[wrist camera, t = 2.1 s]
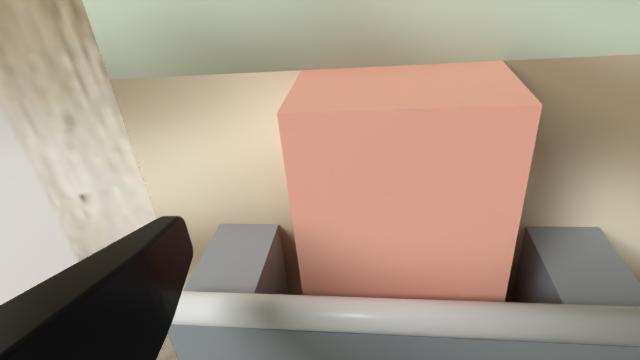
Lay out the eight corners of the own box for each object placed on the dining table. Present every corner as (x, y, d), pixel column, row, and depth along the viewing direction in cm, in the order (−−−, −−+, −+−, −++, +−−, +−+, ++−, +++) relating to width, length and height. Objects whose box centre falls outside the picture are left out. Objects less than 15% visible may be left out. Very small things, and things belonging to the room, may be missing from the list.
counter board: (591, 388, 17) (602, 412, 16) (221, 365, 20) (213, 385, 19) (1054, -787, 5) (1184, -924, 4) (-44, -475, 8) (-97, -525, 7)
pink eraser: (465, 336, 15) (482, 418, 13) (328, 330, 16) (318, 406, 14) (502, 60, 10) (542, 104, 8) (301, 70, 11) (276, 113, 8)
